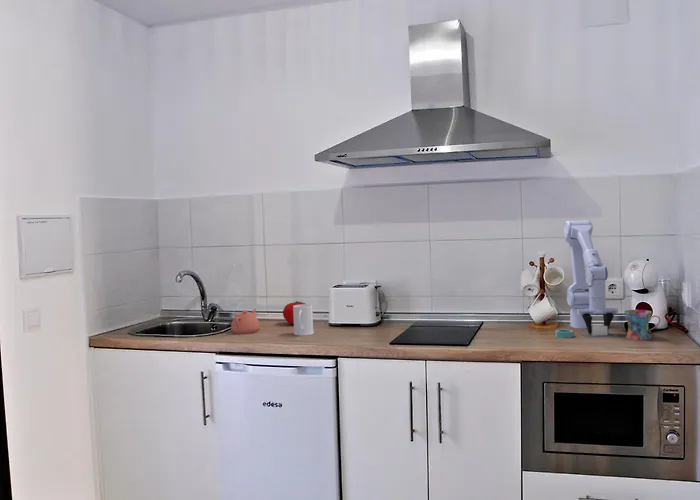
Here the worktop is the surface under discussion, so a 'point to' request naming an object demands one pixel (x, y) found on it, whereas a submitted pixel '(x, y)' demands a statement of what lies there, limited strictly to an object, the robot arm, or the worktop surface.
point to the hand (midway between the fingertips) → (597, 333)
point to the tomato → (290, 311)
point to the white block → (599, 330)
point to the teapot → (245, 323)
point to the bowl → (564, 333)
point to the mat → (597, 336)
